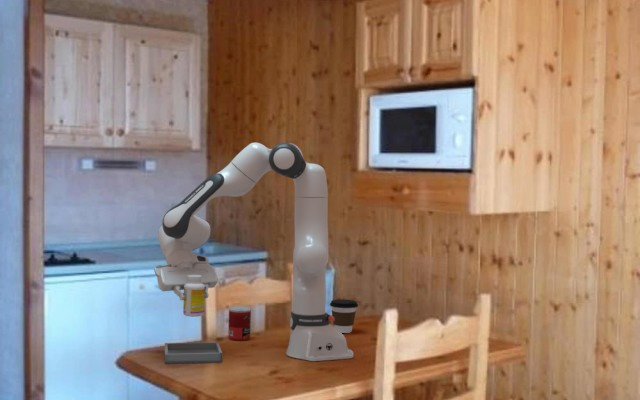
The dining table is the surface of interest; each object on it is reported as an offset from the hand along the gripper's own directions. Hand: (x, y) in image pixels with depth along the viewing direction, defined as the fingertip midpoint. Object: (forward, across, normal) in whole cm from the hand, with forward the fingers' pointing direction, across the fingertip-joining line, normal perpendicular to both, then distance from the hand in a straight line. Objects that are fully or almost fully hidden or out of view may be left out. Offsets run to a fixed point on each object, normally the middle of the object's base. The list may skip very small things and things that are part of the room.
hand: (195, 298), depth 240 cm
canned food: (+2, +27, +26) cm, 37 cm away
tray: (+13, 0, +14) cm, 19 cm away
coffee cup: (+9, +68, +18) cm, 71 cm away
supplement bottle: (+4, 0, +5) cm, 6 cm away
